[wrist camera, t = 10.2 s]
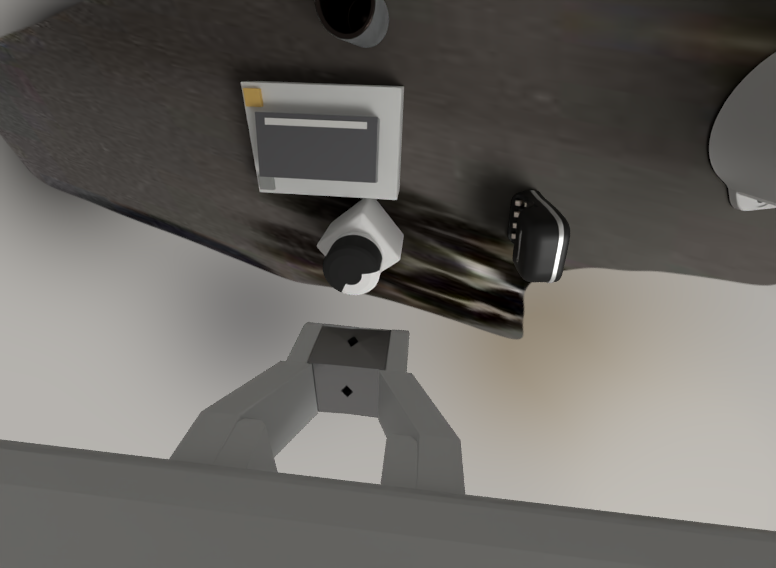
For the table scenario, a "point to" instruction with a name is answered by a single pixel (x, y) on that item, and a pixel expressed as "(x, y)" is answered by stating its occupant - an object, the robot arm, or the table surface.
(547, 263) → the battery charger
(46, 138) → the table surface
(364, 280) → the medicine bottle
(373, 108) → the panel
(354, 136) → the dark gray slim case
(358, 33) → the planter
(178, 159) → the table surface
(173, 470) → the robot arm
